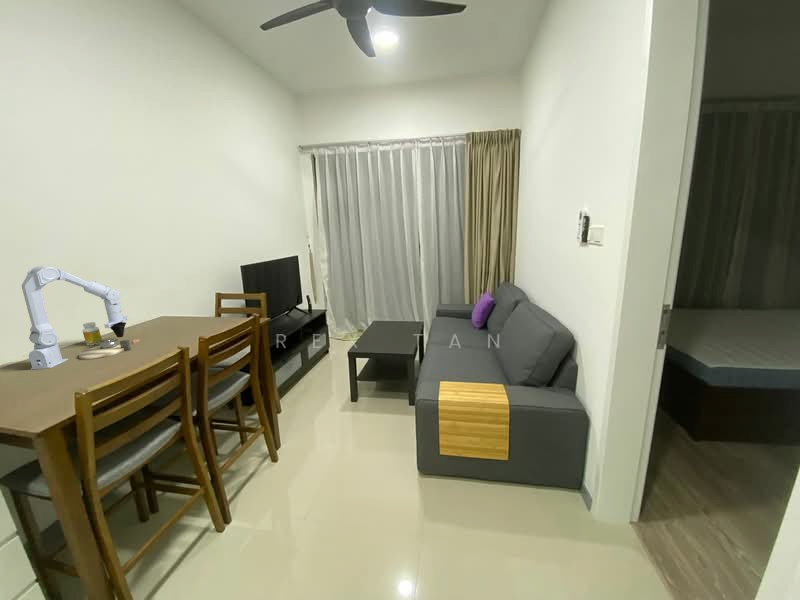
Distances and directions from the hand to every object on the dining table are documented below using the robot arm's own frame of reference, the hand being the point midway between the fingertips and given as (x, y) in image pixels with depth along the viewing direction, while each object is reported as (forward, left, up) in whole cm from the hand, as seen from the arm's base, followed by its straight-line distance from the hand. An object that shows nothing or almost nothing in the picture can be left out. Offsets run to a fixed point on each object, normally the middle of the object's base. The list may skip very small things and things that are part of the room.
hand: (120, 336), depth 168 cm
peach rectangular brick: (0, -7, -4) cm, 8 cm away
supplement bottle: (+3, +15, -4) cm, 16 cm away
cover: (-9, 0, -2) cm, 9 cm away
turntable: (-13, -1, -3) cm, 13 cm away
